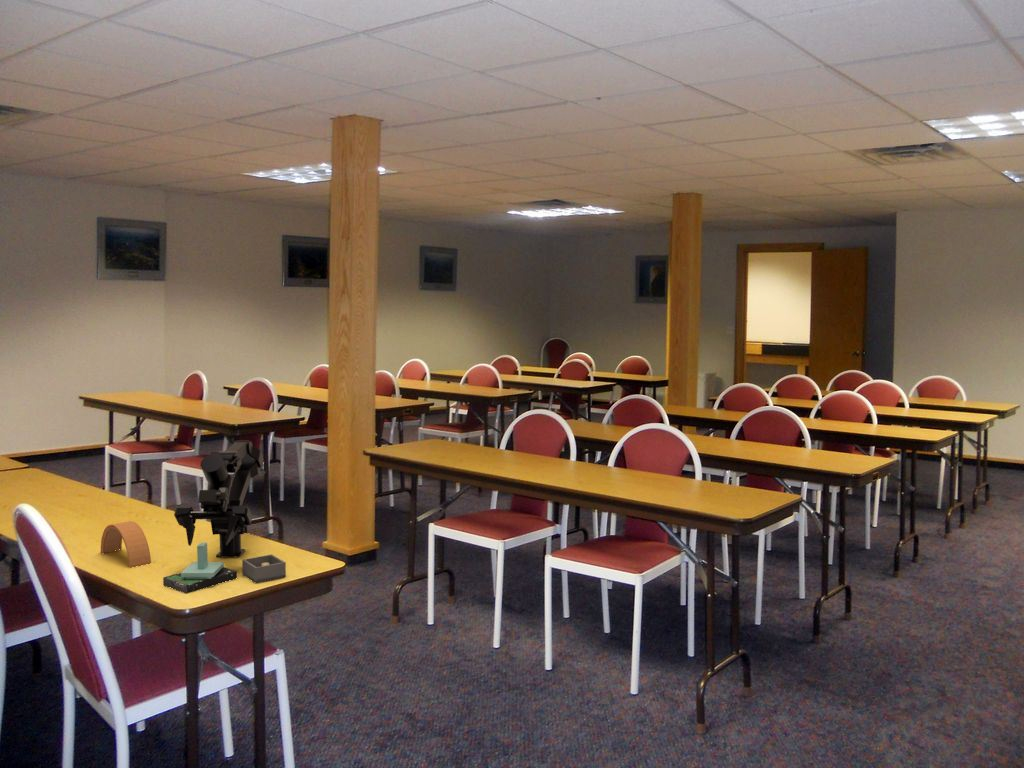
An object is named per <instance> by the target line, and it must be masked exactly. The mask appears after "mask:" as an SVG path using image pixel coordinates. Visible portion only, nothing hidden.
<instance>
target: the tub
mask: <svg viewBox="0 0 1024 768" xmlns="http://www.w3.org/2000/svg"><path fill="white" fill-rule="evenodd" d="M241 560H242V575H243V576H244V577H245V578H247V579H248V578H249V579H248V580H250V581H251V580H252V581H251V582H253V583H254V582H255V584H260V582H261V583H265V581H266V582H271V581H275V579H276V580H280V579H285V577H286V578H287V573H286V572H287V571H286V570H287V566H286V561H284V560H283V559H281V558H279V557H277V556H276V555H274V554H267V555H260V556H256V557H255V556H254V557H250V558H244V559H241ZM270 580H271V581H270Z"/></svg>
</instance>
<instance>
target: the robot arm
mask: <svg viewBox="0 0 1024 768" xmlns="http://www.w3.org/2000/svg"><path fill="white" fill-rule="evenodd" d="M199 465H200V468H201V471H202V473H203V475H204V478H205V479H206V481H207V482H209V483H208V487H207V489H200V490H199V491H198V500H197V501H198V504H200V506H199V507H200V509H203V510H202V511H195V510H194V509H193V507H192V506H178V507H176V509H175V510H174V513H173V516H174V517H175V520H176V522H177V524H178V525H179V526H181V527H182V528H183V529H185V532H186V539H187V544H188V546H189V547H191V546H192V544H193V539H194V535H195V531H196V526H195V524H196V522H197V520H210V525H211V533H212V536H213V535H219V552H218V553H217V554H215V557H216V558H238V557H241V556H242V554H243V553H244V552H245V551H246V549H245V548H242V541H241V540H242V536H243V535H244V534H247V533H249V531H248V529H249V527H248V526H250V525H251V524H252V519H253V517H252V513H251V509H249V507H248V506H247V505H243V503H244V500H245V497H246V496H247V495H246V494H247V492H248V489H249V485H250V483H251V480H252V479H253V478H255V477H256V476H258V475H259V474H260V472H261V470H262V468H263V467H264V456H263V454H262V451H261V450H260V449H259V448H258V447H256V446H255V445H253V442H252V441H251V440H235V441H233V443H232V444H231V445H230V446H229V447H227V448H226V449H225V450H223V451H221V450H220V451H218V450H215V451H214V450H213V451H212V450H211V451H210V453H209V454H208V455H205V456H204V457H203V458H202V460H201V461H200V463H199ZM231 474H234V476H233V477H232V475H231Z"/></svg>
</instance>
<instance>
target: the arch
mask: <svg viewBox="0 0 1024 768" xmlns="http://www.w3.org/2000/svg"><path fill="white" fill-rule="evenodd" d="M100 540H101V541H100V554H102V553H104V552H109V553H111V552H110V551H114V552H116V551H115V550H119V549H122V548H123V545H122V544H123V543H124V546H125V549H126V554H127V559H128V568H129V567H130V568H129V569H133V568H132V567H134V568H137V567H136V566H138V567H142V566H141V565H143V566H147V565H146V564H148V565H151V564H152V560H151V558H152V557H151V551H150V548H149V547H150V546H149V543H148V539H147V536H146V535H145V532H144V530H143V528H142V527H141V526H140V525H139V524H138V523H137V522H136V521H132V520H130V521H124V522H119V523H112V524H109V525H107V526H106V527H105V528H104V530H103V532H102V535H101V539H100ZM122 550H123V549H122ZM119 551H120V550H119ZM104 554H105V553H104ZM150 563H151V564H150Z"/></svg>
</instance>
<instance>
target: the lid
mask: <svg viewBox="0 0 1024 768" xmlns="http://www.w3.org/2000/svg"><path fill="white" fill-rule="evenodd" d="M196 554H197V561H196V562H195V561H194V562H193V561H192V562H191V563H190V564H189V565H188V566H187V567H185V568H184V570H183V571H182V572H180V573H181V577H186V579H211V578H212V577H214V576H215V575H216V574H217V573H218V572H219V571H220V570H221V568H222V567H225V562H224V561H208V560H209V559H208V542H200V543H199V544H198V545H197V546H196Z"/></svg>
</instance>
